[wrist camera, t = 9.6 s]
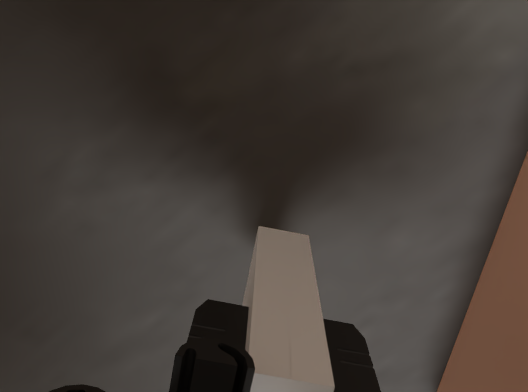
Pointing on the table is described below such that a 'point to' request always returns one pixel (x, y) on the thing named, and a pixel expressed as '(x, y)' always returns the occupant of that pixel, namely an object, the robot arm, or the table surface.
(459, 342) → the t block
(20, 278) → the table surface
